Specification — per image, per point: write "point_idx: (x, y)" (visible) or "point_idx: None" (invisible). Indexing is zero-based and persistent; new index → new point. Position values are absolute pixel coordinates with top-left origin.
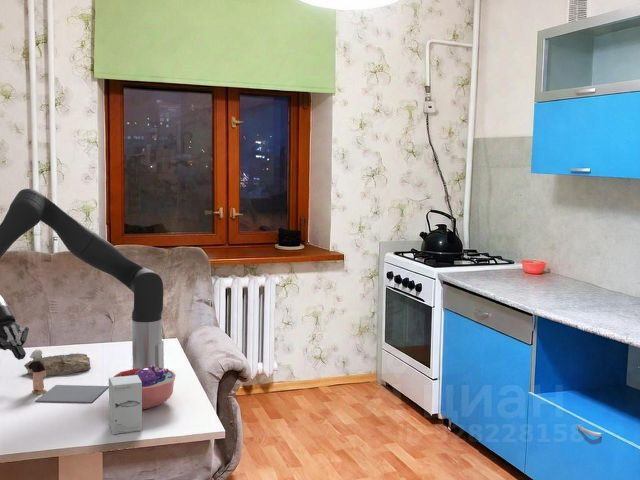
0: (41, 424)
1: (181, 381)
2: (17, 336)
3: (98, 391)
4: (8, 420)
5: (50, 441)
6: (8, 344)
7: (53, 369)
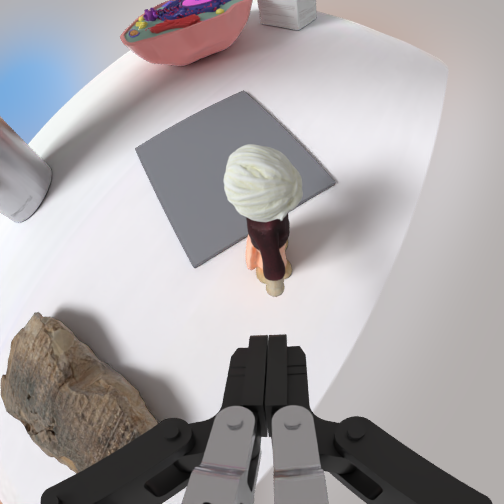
0: (383, 82)
1: (71, 108)
2: (214, 478)
3: (179, 130)
4: (430, 136)
5: (392, 46)
6: (354, 426)
7: (110, 380)
